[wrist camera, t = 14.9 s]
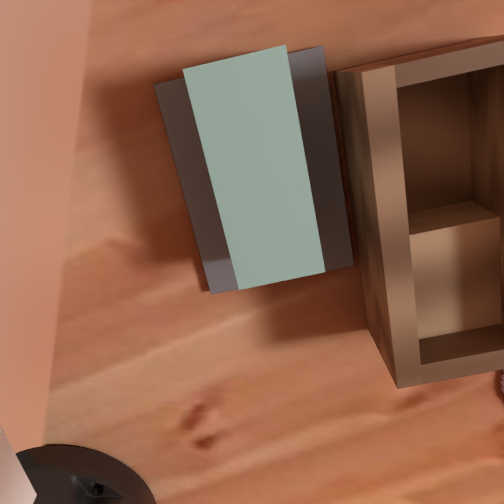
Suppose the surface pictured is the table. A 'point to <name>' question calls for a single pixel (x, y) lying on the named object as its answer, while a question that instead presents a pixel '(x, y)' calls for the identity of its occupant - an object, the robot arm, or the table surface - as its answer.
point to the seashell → (502, 382)
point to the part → (257, 165)
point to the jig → (429, 206)
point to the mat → (317, 159)
